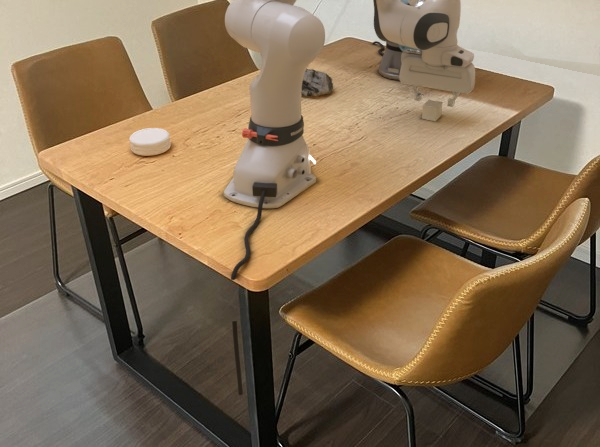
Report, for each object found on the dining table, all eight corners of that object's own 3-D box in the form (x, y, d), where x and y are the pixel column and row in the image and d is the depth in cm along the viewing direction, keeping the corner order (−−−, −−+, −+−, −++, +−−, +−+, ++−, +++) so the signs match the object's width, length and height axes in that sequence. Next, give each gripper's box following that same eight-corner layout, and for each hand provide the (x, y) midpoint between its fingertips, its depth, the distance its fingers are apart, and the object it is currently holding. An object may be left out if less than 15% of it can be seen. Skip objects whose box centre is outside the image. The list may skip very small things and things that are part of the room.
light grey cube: (427, 113, 174) (428, 99, 172) (441, 115, 172) (442, 102, 170) (421, 118, 171) (422, 104, 169) (435, 121, 169) (436, 107, 167)
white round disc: (133, 140, 161) (131, 128, 159) (172, 138, 162) (170, 126, 160) (128, 157, 152) (126, 144, 150) (169, 155, 153) (167, 142, 151)
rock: (337, 91, 188) (337, 68, 185) (314, 100, 182) (313, 76, 179) (303, 81, 198) (303, 59, 194) (280, 89, 192) (279, 66, 188)
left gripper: (397, 51, 165) (394, 100, 172) (473, 62, 156) (466, 113, 163) (406, 44, 169) (402, 93, 177) (480, 54, 160) (473, 105, 168)
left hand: (434, 103), depth 170 cm, fingers open, 8 cm apart
